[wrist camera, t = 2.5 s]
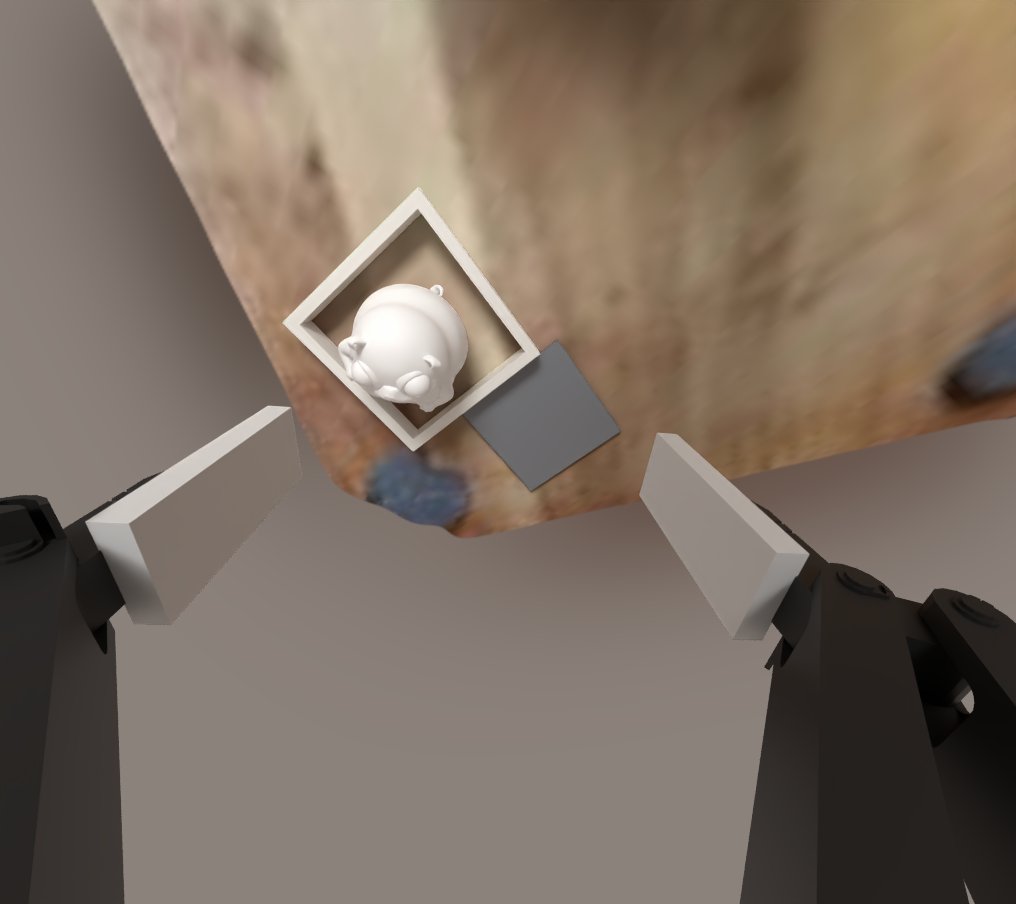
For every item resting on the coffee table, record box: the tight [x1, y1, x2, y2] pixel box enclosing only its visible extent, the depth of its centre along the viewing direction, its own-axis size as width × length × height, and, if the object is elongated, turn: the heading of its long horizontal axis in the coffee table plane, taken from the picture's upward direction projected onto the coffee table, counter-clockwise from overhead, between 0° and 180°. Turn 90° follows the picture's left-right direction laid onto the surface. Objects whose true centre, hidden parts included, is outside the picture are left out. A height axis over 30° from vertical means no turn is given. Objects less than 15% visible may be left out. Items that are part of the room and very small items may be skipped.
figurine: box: [338, 284, 468, 412], centre depth 31 cm, size 10×10×12 cm
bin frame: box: [283, 187, 540, 452], centre depth 35 cm, size 16×16×2 cm
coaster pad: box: [463, 340, 621, 491], centre depth 40 cm, size 12×12×1 cm
